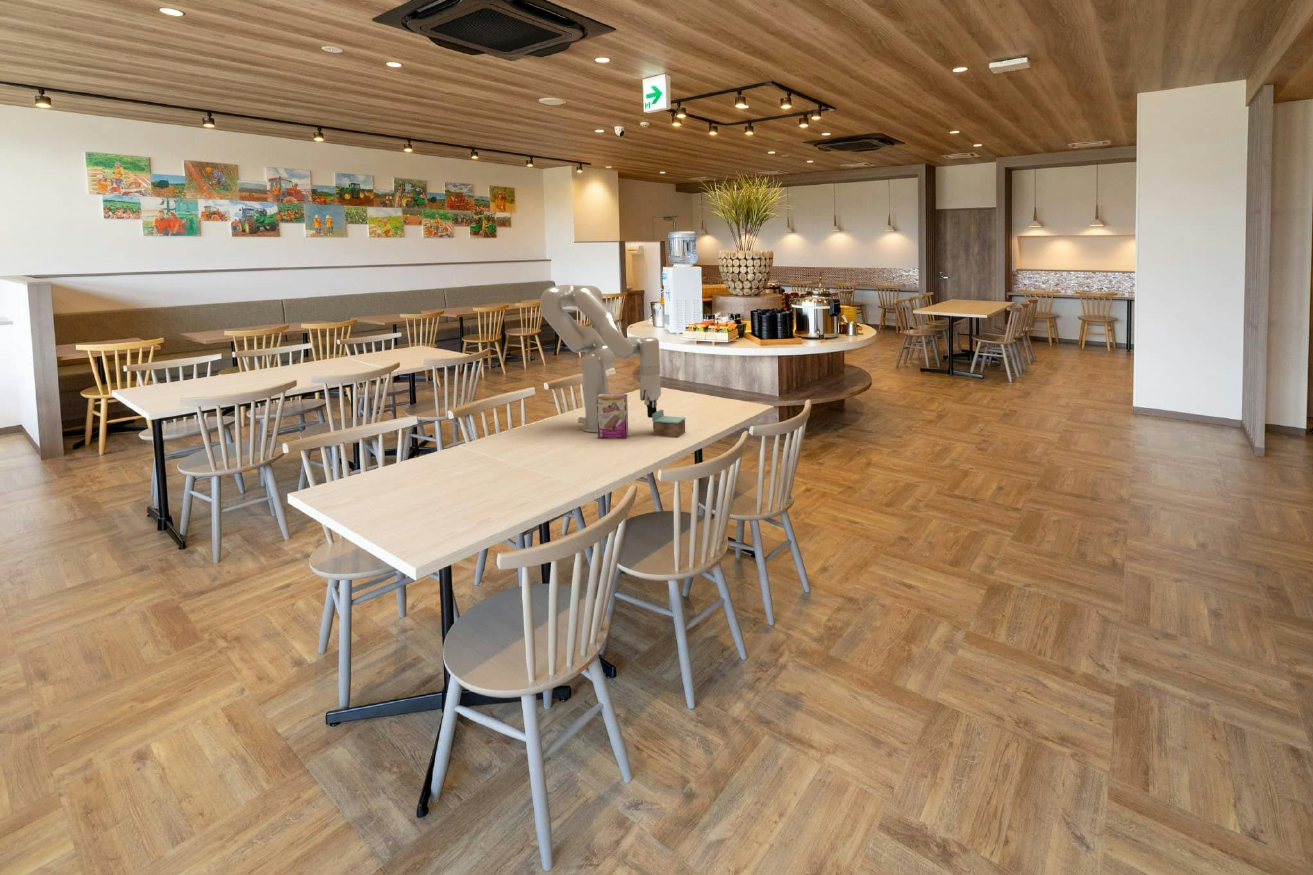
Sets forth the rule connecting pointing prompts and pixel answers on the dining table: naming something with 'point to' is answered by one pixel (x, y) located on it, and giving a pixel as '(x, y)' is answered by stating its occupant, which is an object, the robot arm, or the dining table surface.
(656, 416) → the lid
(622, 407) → the candy bar box
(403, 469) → the dining table surface
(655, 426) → the brown wooden box
